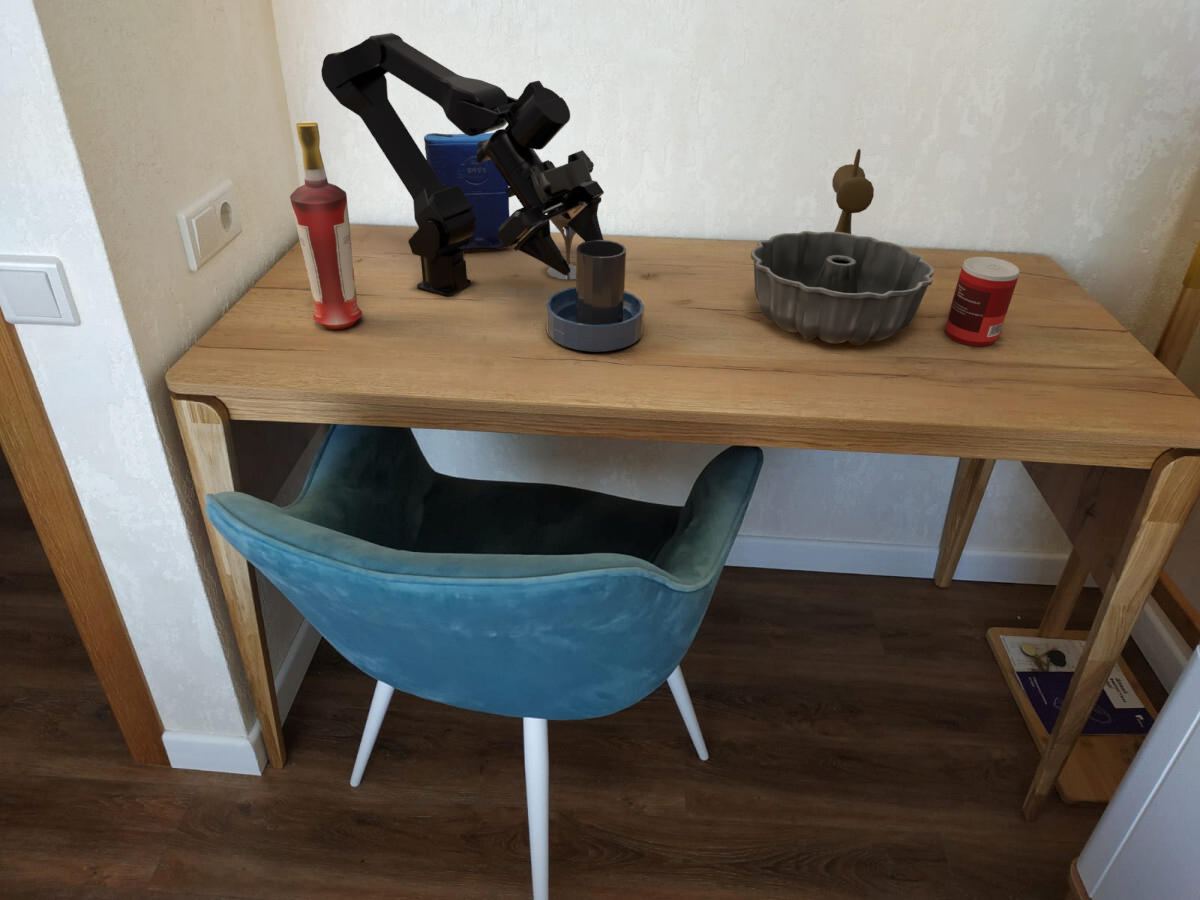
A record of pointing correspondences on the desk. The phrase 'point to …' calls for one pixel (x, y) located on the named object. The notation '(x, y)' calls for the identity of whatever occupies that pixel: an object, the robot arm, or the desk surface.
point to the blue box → (471, 183)
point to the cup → (600, 282)
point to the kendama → (851, 192)
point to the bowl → (592, 336)
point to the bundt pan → (838, 285)
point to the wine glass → (568, 237)
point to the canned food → (981, 300)
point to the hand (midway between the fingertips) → (586, 263)
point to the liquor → (325, 237)
